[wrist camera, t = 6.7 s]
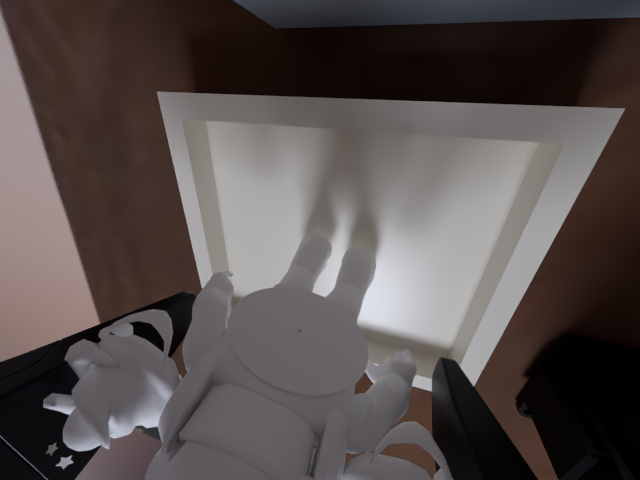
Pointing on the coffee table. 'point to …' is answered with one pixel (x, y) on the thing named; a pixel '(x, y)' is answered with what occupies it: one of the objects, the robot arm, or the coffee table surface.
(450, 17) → the deep square frame
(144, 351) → the flower shoulder figurine
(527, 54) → the coffee table surface
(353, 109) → the tray
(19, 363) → the robot arm
